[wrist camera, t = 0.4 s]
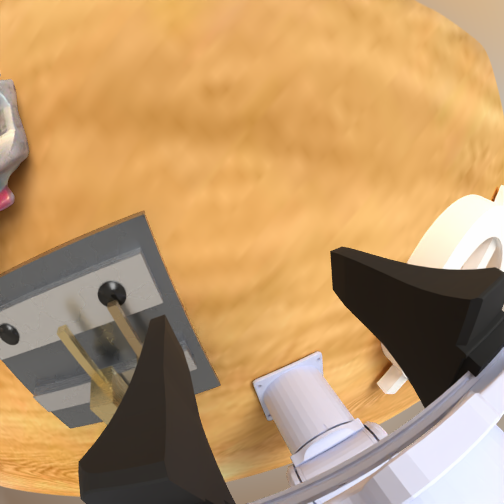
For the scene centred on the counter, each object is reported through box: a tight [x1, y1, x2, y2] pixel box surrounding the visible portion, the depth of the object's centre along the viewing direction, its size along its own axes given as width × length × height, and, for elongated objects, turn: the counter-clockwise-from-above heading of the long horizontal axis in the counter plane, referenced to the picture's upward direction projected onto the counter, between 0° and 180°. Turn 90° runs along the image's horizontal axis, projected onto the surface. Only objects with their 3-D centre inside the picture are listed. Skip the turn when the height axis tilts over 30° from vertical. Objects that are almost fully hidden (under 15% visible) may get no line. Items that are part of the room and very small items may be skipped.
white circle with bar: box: [377, 185, 504, 394], centre depth 35 cm, size 28×28×5 cm
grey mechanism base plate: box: [0, 211, 220, 428], centre depth 20 cm, size 18×18×3 cm
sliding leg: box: [57, 325, 128, 425], centre depth 18 cm, size 10×2×4 cm, turn 13°
